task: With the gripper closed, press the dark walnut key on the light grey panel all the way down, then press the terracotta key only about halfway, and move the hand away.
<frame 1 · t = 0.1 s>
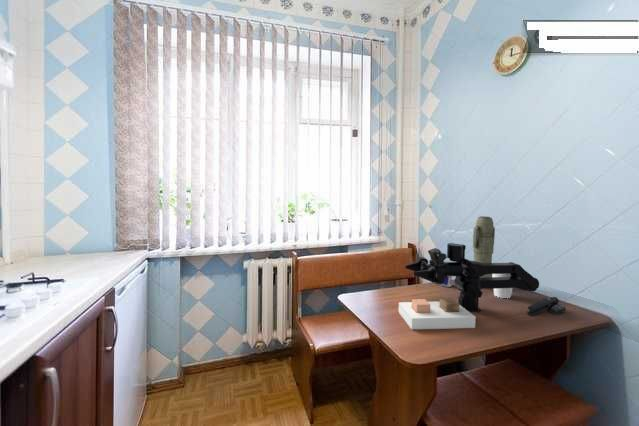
hand: (409, 270, 115), 17 cm above the table, tool horizontal, fingers open, 9 cm apart
thermos: (481, 285, 145), on the table
energy drink: (445, 285, 145), on the table
can opener: (543, 313, 114), on the table
key panel: (434, 319, 108), on the table
terracotta key: (420, 307, 107), point 5 cm above the table, slide at 0.0 cm
foam cup: (502, 296, 131), on the table
walnut key: (449, 306, 108), point 5 cm above the table, slide at 0.0 cm
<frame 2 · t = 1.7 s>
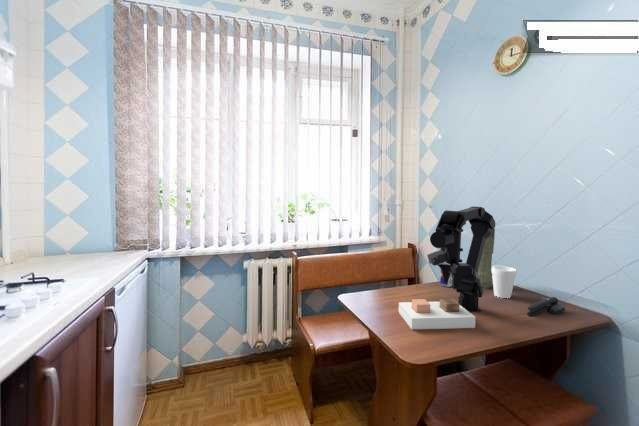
hand: (450, 285, 107), 13 cm above the table, tool pointing down, fingers open, 6 cm apart
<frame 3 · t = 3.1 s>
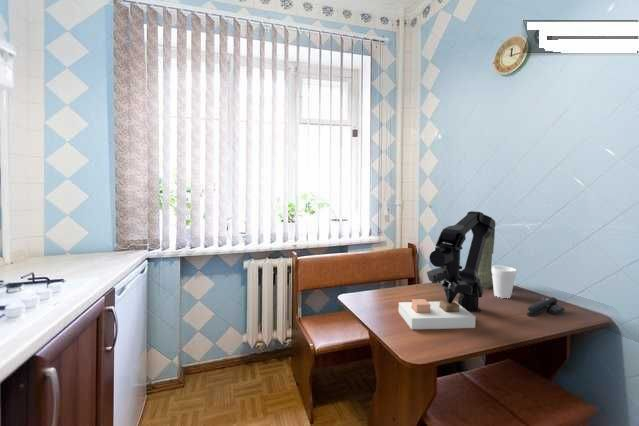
hand: (449, 302, 108), 6 cm above the table, tool pointing down, fingers closed, pressing on walnut key
walnut key: (449, 307, 108), point 4 cm above the table, slide at 0.6 cm, touching gripper
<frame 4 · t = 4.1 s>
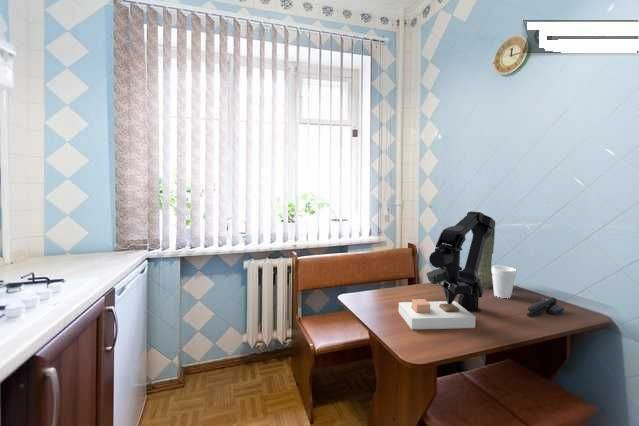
hand: (449, 303, 108), 6 cm above the table, tool pointing down, fingers closed
walnut key: (449, 311, 108), point 3 cm above the table, slide at 2.0 cm, touching key panel
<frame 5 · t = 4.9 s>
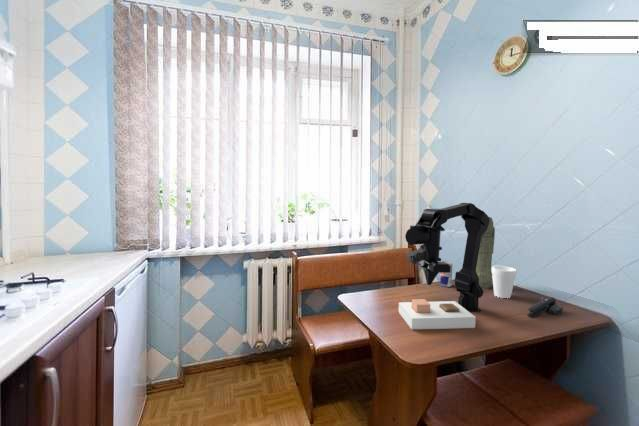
hand: (428, 284, 106), 14 cm above the table, tool pointing down, fingers closed
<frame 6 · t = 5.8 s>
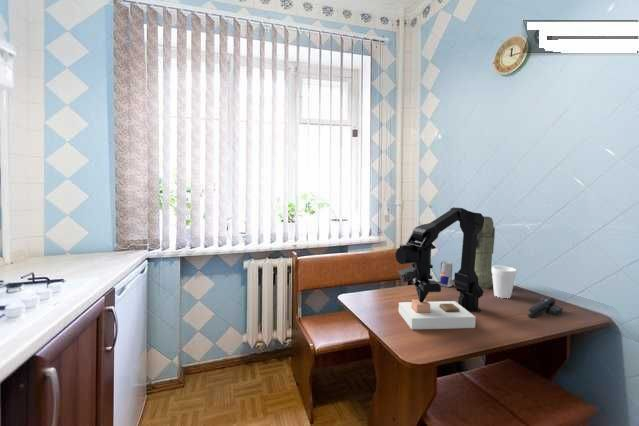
hand: (421, 301, 107), 7 cm above the table, tool pointing down, fingers closed, pressing on terracotta key
terracotta key: (420, 307, 107), point 5 cm above the table, slide at 0.0 cm, touching gripper
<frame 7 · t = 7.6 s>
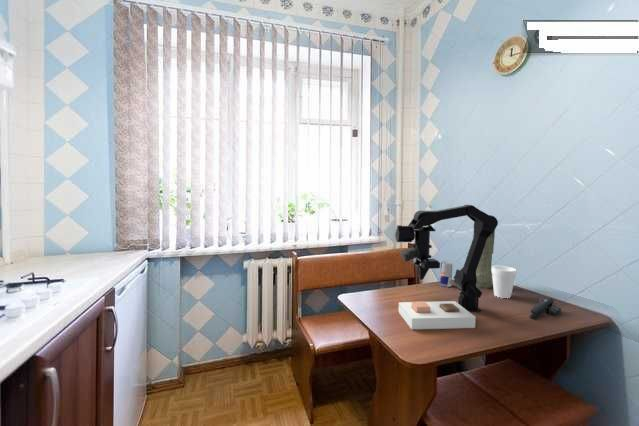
hand: (421, 279, 117), 12 cm above the table, tool pointing down, fingers closed
terracotta key: (420, 309, 107), point 4 cm above the table, slide at 0.9 cm
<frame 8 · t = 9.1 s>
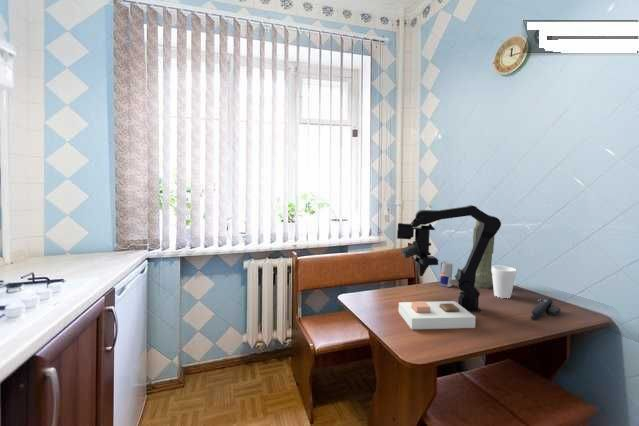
hand: (420, 276, 122), 12 cm above the table, tool pointing down, fingers closed
at the end: walnut key slide at 2.0 cm; terracotta key slide at 0.9 cm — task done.
